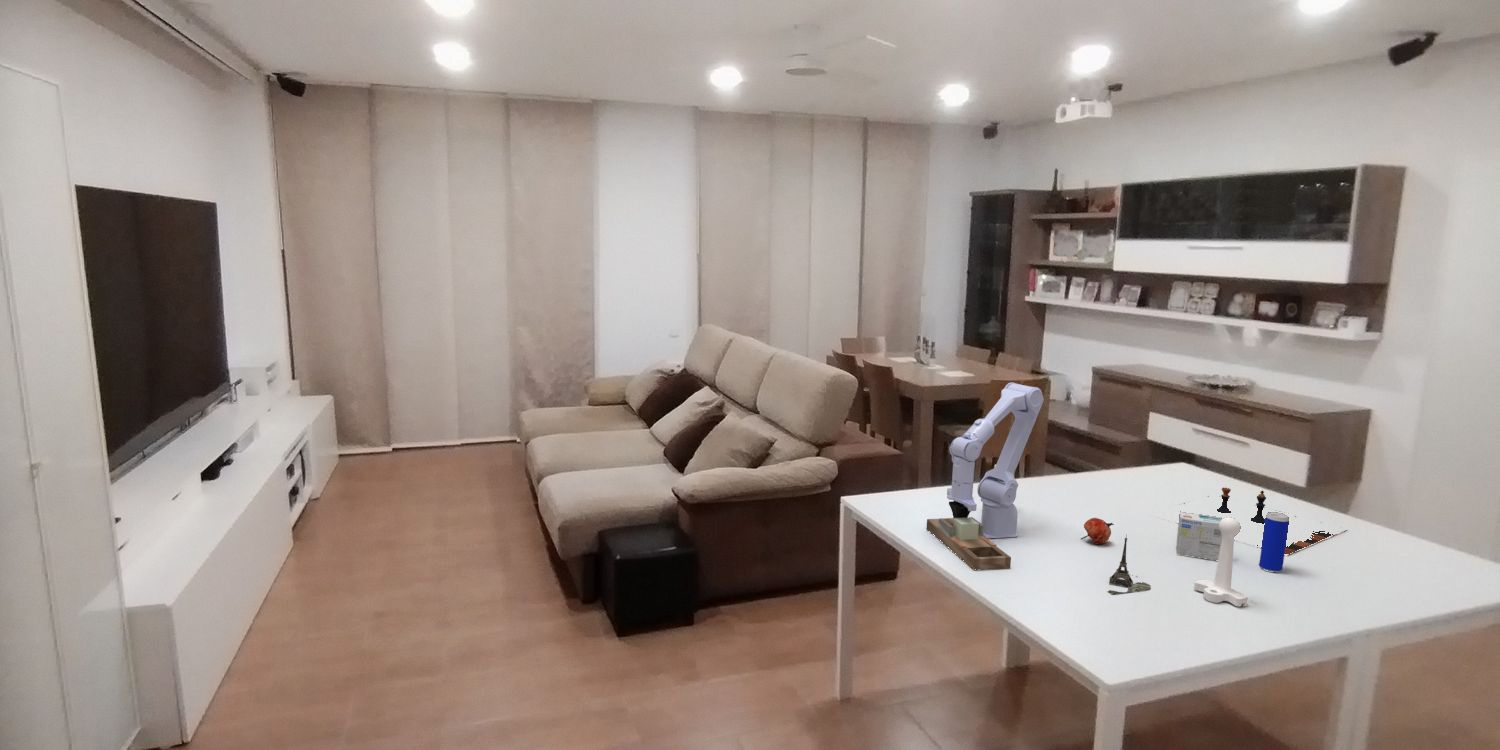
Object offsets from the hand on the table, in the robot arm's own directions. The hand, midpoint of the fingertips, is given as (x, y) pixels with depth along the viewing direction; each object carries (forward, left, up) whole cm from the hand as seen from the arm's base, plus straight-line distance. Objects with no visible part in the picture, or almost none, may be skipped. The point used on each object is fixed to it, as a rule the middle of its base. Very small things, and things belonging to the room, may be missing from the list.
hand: (959, 527), depth 227 cm
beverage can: (-74, +29, -4) cm, 80 cm away
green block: (0, +4, -1) cm, 4 cm away
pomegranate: (-39, +5, -4) cm, 40 cm away
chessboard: (-97, -5, -5) cm, 97 cm away
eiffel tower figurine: (-28, +32, -5) cm, 43 cm away
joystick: (-46, +43, -4) cm, 63 cm away
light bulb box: (-62, +17, -4) cm, 65 cm away
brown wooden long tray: (0, +5, -4) cm, 6 cm away
